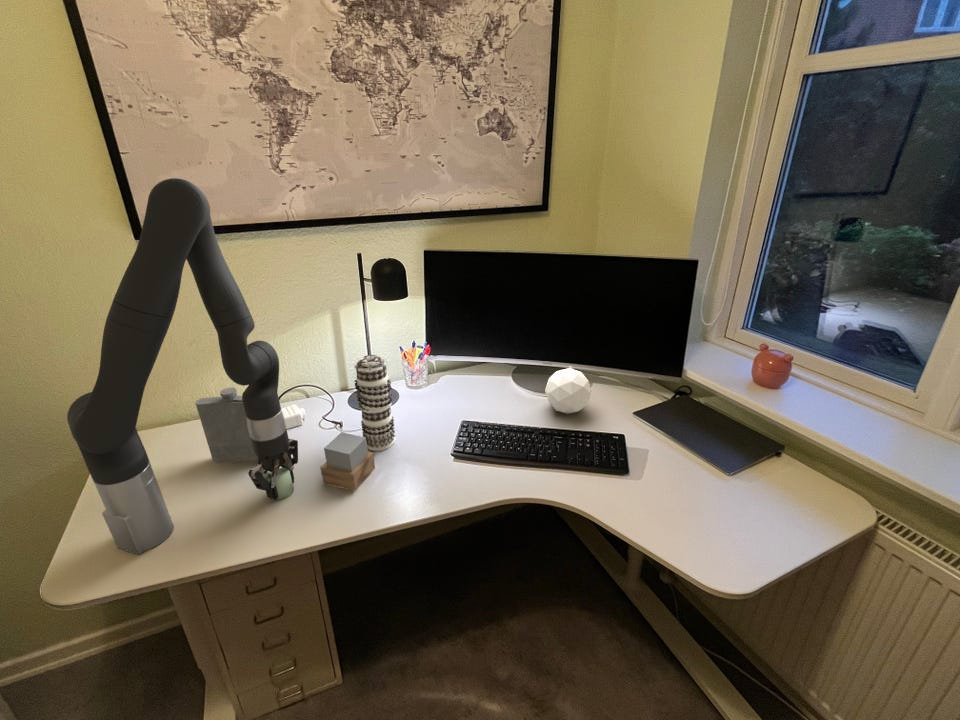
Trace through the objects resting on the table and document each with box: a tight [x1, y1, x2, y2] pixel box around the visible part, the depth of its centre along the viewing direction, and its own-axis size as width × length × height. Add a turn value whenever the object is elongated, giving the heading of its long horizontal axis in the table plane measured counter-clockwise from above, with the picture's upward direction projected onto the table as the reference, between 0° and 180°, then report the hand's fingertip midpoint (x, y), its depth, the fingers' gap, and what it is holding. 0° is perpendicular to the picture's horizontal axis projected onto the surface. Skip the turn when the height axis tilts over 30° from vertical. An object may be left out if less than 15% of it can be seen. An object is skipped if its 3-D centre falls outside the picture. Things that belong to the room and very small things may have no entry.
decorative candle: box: [354, 354, 396, 452], centre depth 126 cm, size 9×9×25 cm
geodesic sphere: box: [544, 365, 592, 415], centre depth 144 cm, size 14×14×14 cm
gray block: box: [323, 432, 369, 472], centre depth 116 cm, size 7×7×5 cm
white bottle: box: [281, 403, 307, 430], centre depth 138 cm, size 7×13×4 cm, turn 123°
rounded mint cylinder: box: [268, 467, 294, 500], centre depth 112 cm, size 5×5×5 cm
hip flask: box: [195, 386, 258, 464], centre depth 121 cm, size 16×4×20 cm, turn 91°
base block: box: [320, 451, 376, 492], centre depth 118 cm, size 9×9×5 cm
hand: (281, 490), depth 113 cm, fingers closed on rounded mint cylinder, 5 cm apart
